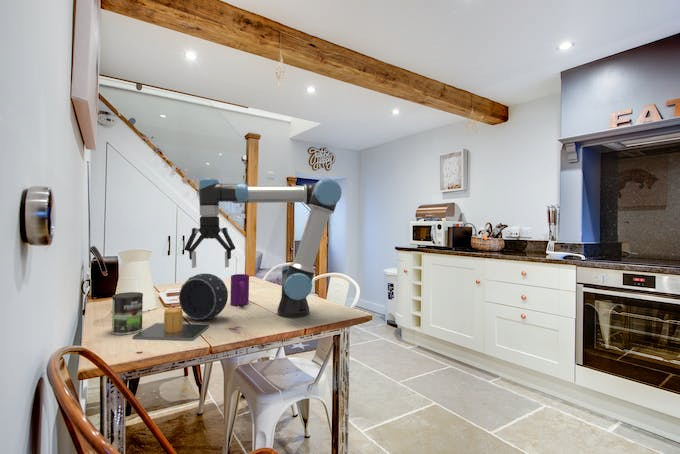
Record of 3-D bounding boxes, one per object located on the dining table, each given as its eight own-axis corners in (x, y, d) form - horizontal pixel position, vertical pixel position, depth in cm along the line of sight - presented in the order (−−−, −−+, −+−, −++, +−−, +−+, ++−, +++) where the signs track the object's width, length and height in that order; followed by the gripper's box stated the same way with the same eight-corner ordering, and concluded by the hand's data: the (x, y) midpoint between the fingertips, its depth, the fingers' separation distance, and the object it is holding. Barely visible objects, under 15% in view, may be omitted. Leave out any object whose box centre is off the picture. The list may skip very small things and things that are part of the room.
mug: (247, 301, 188) (247, 273, 188) (252, 308, 174) (252, 278, 174) (229, 302, 185) (229, 274, 184) (233, 310, 170) (233, 279, 170)
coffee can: (148, 329, 138) (148, 294, 138) (120, 336, 130) (120, 299, 129) (134, 325, 144) (134, 290, 144) (106, 331, 135) (106, 295, 135)
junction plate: (209, 327, 144) (209, 310, 143) (192, 340, 128) (192, 321, 127) (156, 325, 144) (156, 308, 144) (132, 338, 128) (132, 319, 128)
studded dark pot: (217, 324, 147) (218, 277, 147) (175, 320, 151) (175, 274, 151) (230, 317, 158) (231, 273, 157) (190, 314, 162) (191, 270, 161)
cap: (184, 327, 139) (184, 307, 138) (177, 332, 133) (177, 311, 132) (169, 327, 139) (169, 307, 138) (161, 332, 133) (161, 311, 132)
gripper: (242, 215, 149) (243, 265, 150) (183, 216, 149) (184, 266, 149) (237, 215, 141) (238, 268, 142) (175, 216, 141) (176, 268, 142)
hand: (210, 267), depth 146 cm, fingers open, 13 cm apart
